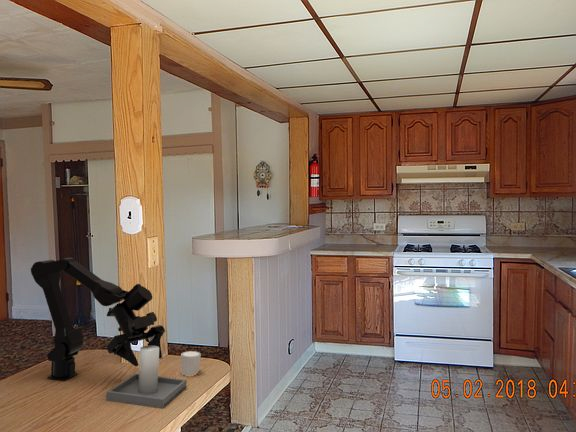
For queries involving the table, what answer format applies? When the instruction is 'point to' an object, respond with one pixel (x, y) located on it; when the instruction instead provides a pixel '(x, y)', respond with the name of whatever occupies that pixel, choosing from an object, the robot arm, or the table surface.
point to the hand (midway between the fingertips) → (149, 361)
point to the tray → (159, 399)
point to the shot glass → (190, 362)
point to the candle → (148, 369)
